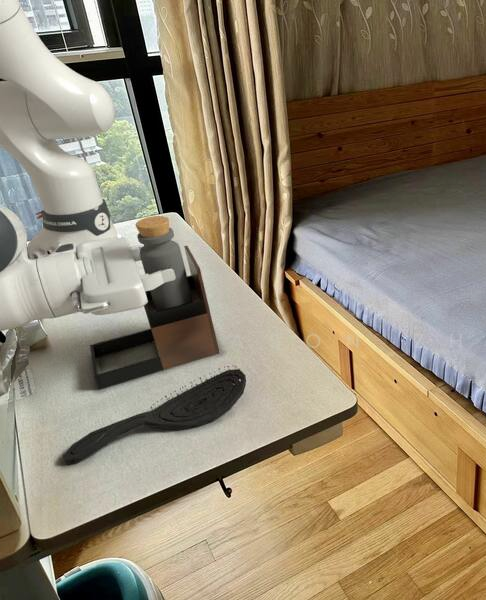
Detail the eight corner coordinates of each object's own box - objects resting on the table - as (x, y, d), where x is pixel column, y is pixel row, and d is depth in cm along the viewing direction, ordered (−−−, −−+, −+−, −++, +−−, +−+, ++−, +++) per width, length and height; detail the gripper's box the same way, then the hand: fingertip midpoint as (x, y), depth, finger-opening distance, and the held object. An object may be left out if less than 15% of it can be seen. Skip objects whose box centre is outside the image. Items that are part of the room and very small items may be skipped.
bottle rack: (98, 389, 84) (64, 300, 76) (94, 357, 91) (62, 272, 83) (219, 353, 91) (199, 268, 83) (206, 325, 99) (187, 245, 91)
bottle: (181, 317, 86) (158, 230, 78) (148, 314, 87) (122, 227, 80) (200, 299, 91) (180, 215, 83) (169, 296, 92) (146, 213, 85)
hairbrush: (52, 428, 72) (232, 354, 84) (63, 448, 74) (237, 372, 86) (60, 467, 66) (252, 381, 78) (72, 487, 68) (258, 401, 80)
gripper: (64, 294, 70) (176, 268, 76) (61, 239, 86) (153, 221, 91) (80, 334, 73) (186, 307, 79) (74, 275, 89) (163, 255, 95)
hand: (168, 260), depth 85 cm, fingers open, 8 cm apart
